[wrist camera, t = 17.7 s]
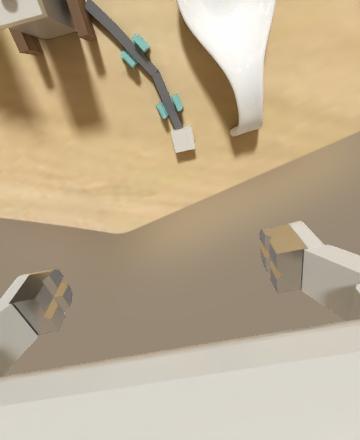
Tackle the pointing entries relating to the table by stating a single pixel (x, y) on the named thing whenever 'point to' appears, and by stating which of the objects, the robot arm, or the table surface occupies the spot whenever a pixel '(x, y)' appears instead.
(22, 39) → the holder
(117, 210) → the table surface
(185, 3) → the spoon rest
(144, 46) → the clip
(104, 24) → the cable
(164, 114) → the clip
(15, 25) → the grey block with knob
